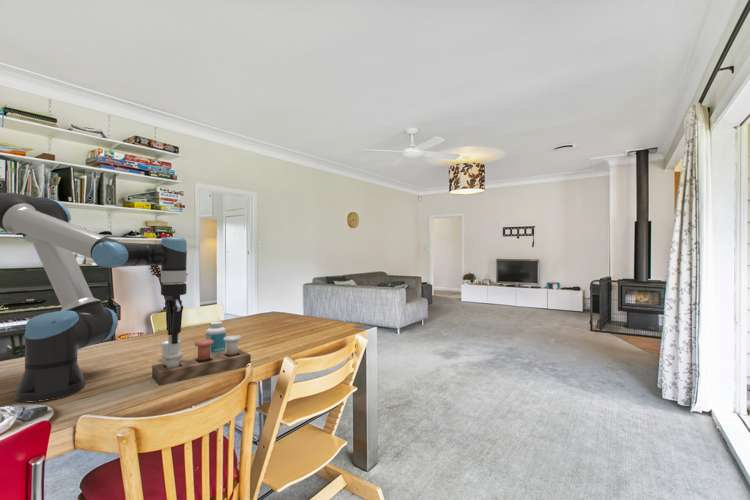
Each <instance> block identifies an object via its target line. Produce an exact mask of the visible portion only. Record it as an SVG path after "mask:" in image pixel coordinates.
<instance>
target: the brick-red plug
mask: <svg viewBox="0 0 750 500" xmlns="http://www.w3.org/2000/svg"><path fill="white" fill-rule="evenodd" d="M210 345H213V340H206V339H199V340H196V341H195V342H194V347H197V357H198V360H207V359H210Z"/></svg>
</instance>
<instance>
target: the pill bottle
mask: <svg viewBox="0 0 750 500" xmlns="http://www.w3.org/2000/svg"><path fill="white" fill-rule="evenodd" d="M226 334H227V332H226V328H225V327H224V326H223V321H212V322H209V328H207V329H206V331H205V340H213V345H210V355H211V354H217V353H222V352H226V346H227V342H225V341H224V337H226V336H227V335H226Z"/></svg>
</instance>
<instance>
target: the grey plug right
mask: <svg viewBox="0 0 750 500" xmlns="http://www.w3.org/2000/svg"><path fill="white" fill-rule="evenodd" d="M241 339H242V336H241V335H238V334H237V335H234V334H233V335H226V337H224V341H225V342H226V354H228V355H233V354H237V353H238V350H239V342H240V341H241Z"/></svg>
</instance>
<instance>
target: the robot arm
mask: <svg viewBox="0 0 750 500" xmlns="http://www.w3.org/2000/svg"><path fill="white" fill-rule="evenodd" d="M71 219H72V217H71V213H70V211H69V209H68V208H67V206H65V205H64V204H63V203H62V202H60V201H58V200H55V199H52V198H48V197H43V196H39V197H38V196H33V195H27V194H21V193H17V192H1V193H0V229H1V230H3V231H6V232H9V233H10V234H21V236H22V237H23V240H24V241H25V242H28V243H30V244H33V247H34V249H35V251H36V254H37V255H38V258H39V260H40V262H41V264H42V266H43V270H44V272H45V273H46V275H47V278H48V280H49V282H50V284H51V286H52V288H53V290H54V292H55V295H56V297H57V299H58V302H59V304H60V306H61V310H60V311H59V310H57V311H53V312H46V313H42V314H39V315H35V316H32V317H31V318H30V319H28V320H27V322H26V324H25V331H24V335H23V336H24V371H23V374H22V376H21V379H20V381H19V383H18V385H17V388H16V391H15V400H16V401H17V402H19V401H39V400H46V399H52V398H56V399H58V398H57V397H60V398H63V397H62V396H64V397H67V396H70V395H72V393H73V394H75V393H77V392H79V391H81V390H82V389H84V388H85V377H84V375H83V373H82V371H81V369H80V365H79V364H78V350H81V349H83V348H86V347H90V346H93V345H98V344H100V343H103V342H104V341H107V340H109V339H110V338H111V337H113V335H114V334H115V332H116V330H117V328H118V325H119V319H118V315H117V313H115V311H114V310H113V309H110V308H108V307H104V304H103V303H102V302H103V301H101V299H98V298H95V297H94V296H93V293H92V292H91V290H90V287H89V285H88V283H87V280H86V279H85V277H84V274H83V271H82V269H81V267H80V266H79V263H78V260H77V258H76V256H75V253H76V254H79V255H80V256H83V257H86V258H89V259H91V260H93V262H94V263H95V264H96V265H97V266H99V267H102V268H111V269H114V268H115V269H116V268H124V267H125V268H126V267H140V266H142V267H143V266H145V267H147V266H148V267H149V266H150V267H151V266H159V267H160V268H161V269H160V282H161V283H162V284H161V285H160V295H161V296H166V297H167V298H166V300H165V301H164V308H165V317H166V318H165V322H166V324H165V325H166V331H167V336H168V337H167V339H168V353H169V354H173V353H178V343H179V340H180V338H179V334H180V333H181V332H182V319H183V309H184V305H182V304H183V303H182V300H181V296H184V295H186V294H187V289H188V287H187V283H186V282H187V276H188V275H189V273H188V272H187V269H188V268H187V257H188V256H187V255H188V254H187V253H188V248H187V247H188V246H187V240H186V238H183V237H162V238H161V240H160V241H161V242H160V243H146V242H145V243H141V242H124V241H123V242H122V241H118V240H115V239H114V238H113V239H112V238H110V237H107V236H105V235H102V234H99V233H97V232H94V231H91V230H89V229H87V228H84V227H82V226H79V225H76V224H73V223H70V221H71ZM69 394H70V395H69ZM66 395H67V396H66ZM52 400H53V399H52ZM46 401H47V400H46ZM39 402H40V401H39Z"/></svg>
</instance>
